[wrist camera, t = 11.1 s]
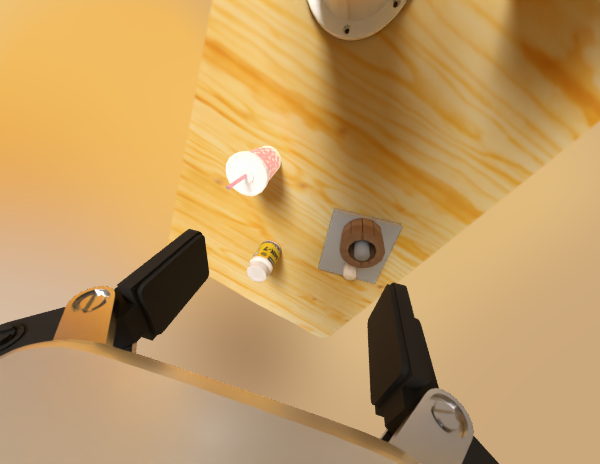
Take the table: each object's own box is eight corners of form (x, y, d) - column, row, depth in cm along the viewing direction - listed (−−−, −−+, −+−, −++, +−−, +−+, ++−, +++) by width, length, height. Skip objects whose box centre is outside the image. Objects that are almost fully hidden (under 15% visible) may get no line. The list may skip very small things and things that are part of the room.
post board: (334, 208, 39) (330, 227, 33) (401, 224, 38) (409, 247, 32) (319, 265, 47) (313, 289, 41) (374, 279, 45) (376, 307, 39)
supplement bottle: (285, 249, 47) (273, 276, 40) (273, 260, 49) (260, 287, 42) (268, 235, 46) (252, 260, 39) (257, 247, 48) (240, 273, 41)
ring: (347, 214, 38) (346, 228, 34) (387, 223, 37) (391, 239, 33) (337, 245, 42) (335, 261, 37) (374, 254, 41) (376, 272, 37)
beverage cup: (268, 183, 39) (231, 219, 28) (244, 156, 38) (195, 181, 26) (292, 163, 36) (262, 193, 25) (268, 132, 35) (224, 149, 23)
